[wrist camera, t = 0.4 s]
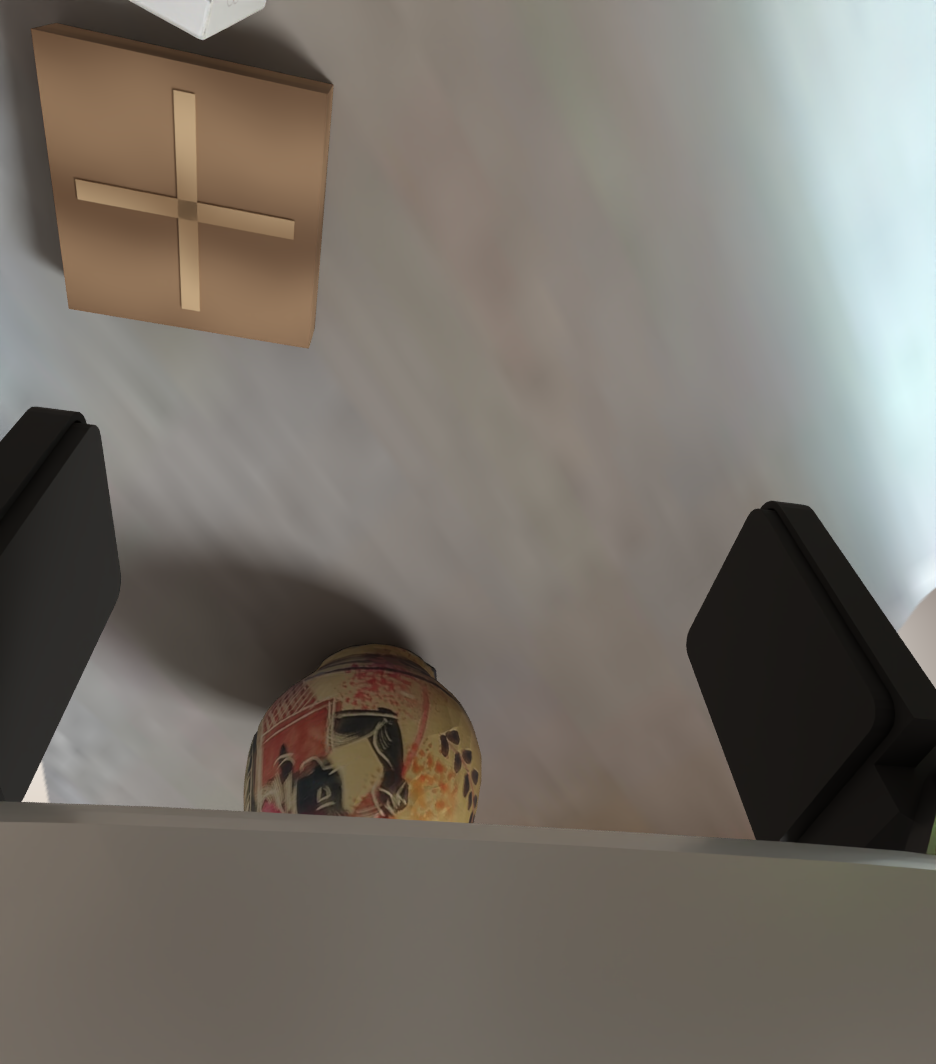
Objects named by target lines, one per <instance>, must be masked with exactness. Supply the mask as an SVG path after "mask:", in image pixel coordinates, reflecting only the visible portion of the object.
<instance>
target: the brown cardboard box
mask: <svg viewBox="0 0 936 1064" xmlns="http://www.w3.org/2000/svg"><path fill="white" fill-rule="evenodd" d="M31 33H32V40H33V48H34V55H35V62H36V70H37V77H38V85H39V92H40V99H41V107H42V114H43V121H44V129H45V136H46V144H47V151H48V158H49V166H50V173H51V180H52V188H53V195H54V203H55V210H56V217H57V225H58V232H59V239H60V247H61V254H62V262H63V269H64V276H65V284H66V291H67V298H68V306H69V309H74V310H80V311H86V312H92V313H98V314H104V315H110V316H116V317H122V318H128V319H134V320H140V321H146V322H152V323H158V324H164V325H170V326H176V327H182V328H188V329H194V330H200V331H206V332H212V333H218V334H224V335H230V336H236V337H242V338H248V339H254V340H260V341H266V342H272V343H278V344H284V345H290V346H296V347H303V348H309V346H310V342H311V339H312V335H313V332H314V328H315V316H316V303H317V290H318V278H319V265H320V252H321V239H322V226H323V213H324V201H325V188H326V175H327V162H328V149H329V137H330V124H331V111H332V98H333V85H332V84H328V83H323V82H319V81H314V80H310V79H305V78H301V77H296V76H292V75H287V74H283V73H279V72H274V71H270V70H265V69H261V68H256V67H252V66H247V65H243V64H238V63H234V62H229V61H225V60H220V59H216V58H211V57H207V56H202V55H198V54H193V53H189V52H184V51H180V50H175V49H171V48H166V47H162V46H157V45H153V44H148V43H144V42H139V41H135V40H130V39H126V38H121V37H117V36H112V35H108V34H104V33H99V32H95V31H90V30H86V29H81V28H77V27H72V26H68V25H63V24H59V23H54V24H49V25H45V26H41V27H36V28H32V29H31Z"/></svg>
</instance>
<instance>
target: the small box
mask: <svg viewBox="0 0 936 1064" xmlns="http://www.w3.org/2000/svg"><path fill="white" fill-rule="evenodd" d="M129 1H131V2H133V3H134V4H136V5H138V6H140V7H142V8H143V9H145V10H147V11H149V12H151V13H152V14H154V15H156V16H158V17H160V18H162V19H163V20H165V21H167V22H169V23H171V24H172V25H174V26H176V27H178V28H180V29H182V30H183V31H185V32H187V33H189V34H191V35H192V36H194V37H196V38H198V39H201V40H205V39H206V38H208V37H210V36H212V35H214V34H216V33H218V32H220V31H222V30H224V29H226V28H228V27H230V26H231V25H234V24H235V23H237V22H239V21H241V20H243V19H245V18H246V17H248V16H250V15H252V14H254V13H256V12H258V11H260V10H262V9H263V8H264V7H265V3H266V0H129Z"/></svg>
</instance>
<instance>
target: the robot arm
mask: <svg viewBox="0 0 936 1064" xmlns="http://www.w3.org/2000/svg"><path fill="white" fill-rule="evenodd" d="M120 585H121V573H120V566H119V559H118V552H117V545H116V538H115V531H114V524H113V517H112V510H111V503H110V496H109V489H108V482H107V475H106V469H105V462H104V455H103V448H102V441H101V435H100V431H99V429H98V427H97V426H96V425H90V424H87V423H86V420H85V418H84V416H83V415H82V414H81V413H80V412H74V411H66V410H58V409H51V408H43V407H31V408H30V409H28V410H27V411H26V412H25V414H24V415H23V416H22V417H21V418H20V419H19V421H18V422H17V423H16V424H15V425H14V426H13V428H12V429H11V430H10V431H9V432H8V433H7V435H6V436H5V437H4V438H3V439H2V440H1V442H0V1064H936V689H935V687H934V686H933V684H932V683H931V681H930V680H929V679H928V677H927V676H926V674H925V673H924V671H923V670H922V669H921V667H920V666H919V664H918V663H917V661H916V660H915V658H914V657H913V655H912V654H911V652H910V651H909V649H908V648H907V647H906V645H905V644H904V642H903V641H902V639H901V638H900V636H899V635H898V633H897V632H896V630H895V629H894V628H893V626H892V625H891V623H890V622H889V620H888V619H887V617H886V616H885V614H884V613H883V612H882V610H881V609H880V607H879V606H878V604H877V603H876V601H875V600H874V598H873V597H872V595H871V594H870V593H869V591H868V590H867V588H866V587H865V585H864V584H863V582H862V581H861V579H860V578H859V577H858V575H857V574H856V572H855V571H854V569H853V568H852V566H851V565H850V563H849V562H848V561H847V559H846V558H845V556H844V555H843V553H842V552H841V550H840V549H839V547H838V546H837V544H836V543H835V542H834V540H833V539H832V537H831V536H830V534H829V533H828V531H827V530H826V528H825V527H824V526H823V524H822V523H821V521H820V520H819V518H818V517H817V515H816V514H815V512H814V511H813V510H812V509H811V508H810V507H809V506H806V505H801V504H793V503H785V502H777V501H769V502H766V503H765V504H764V505H763V506H762V507H761V508H760V509H754V510H753V511H752V512H751V513H750V514H749V516H748V517H747V519H746V521H745V523H744V525H743V527H742V529H741V531H740V533H739V535H738V537H737V539H736V541H735V543H734V544H733V546H732V548H731V550H730V552H729V554H728V556H727V558H726V560H725V562H724V564H723V566H722V568H721V570H720V572H719V574H718V575H717V577H716V579H715V581H714V583H713V585H712V587H711V589H710V591H709V593H708V595H707V597H706V599H705V601H704V603H703V605H702V607H701V608H700V610H699V612H698V614H697V616H696V618H695V620H694V622H693V624H692V626H691V628H690V630H689V632H688V636H687V643H686V647H687V653H688V657H689V659H690V662H691V665H692V668H693V670H694V673H695V676H696V678H697V681H698V684H699V686H700V689H701V692H702V695H703V697H704V700H705V703H706V705H707V708H708V711H709V714H710V716H711V719H712V722H713V724H714V727H715V730H716V733H717V735H718V738H719V741H720V743H721V746H722V749H723V751H724V754H725V757H726V760H727V762H728V765H729V768H730V770H731V773H732V776H733V779H734V781H735V784H736V787H737V789H738V792H739V795H740V797H741V800H742V803H743V806H744V808H745V811H746V814H747V816H748V819H749V822H750V825H751V827H752V830H753V833H754V835H755V838H756V840H746V839H730V838H714V837H697V836H681V835H665V834H648V833H632V832H616V831H599V830H581V829H564V828H546V827H528V826H511V825H493V824H475V823H457V822H439V821H421V820H403V819H385V818H366V817H346V816H327V815H307V814H287V813H268V812H248V811H228V810H209V809H189V808H169V807H148V806H119V805H91V804H63V803H34V802H21V801H22V800H23V798H24V796H25V794H26V792H27V790H28V788H29V785H30V784H31V781H32V779H33V777H34V775H35V773H36V771H37V768H38V766H39V764H40V762H41V760H42V758H43V756H44V754H45V752H46V750H47V748H48V745H49V743H50V741H51V739H52V737H53V735H54V733H55V731H56V728H57V726H58V724H59V722H60V720H61V718H62V716H63V714H64V712H65V709H66V707H67V705H68V703H69V701H70V699H71V697H72V695H73V692H74V690H75V688H76V686H77V684H78V682H79V680H80V678H81V676H82V673H83V671H84V669H85V667H86V665H87V663H88V661H89V659H90V656H91V654H92V652H93V650H94V648H95V646H96V644H97V642H98V640H99V637H100V635H101V633H102V631H103V629H104V627H105V625H106V623H107V620H108V618H109V616H110V614H111V612H112V610H113V608H114V606H115V604H116V601H117V599H118V595H119V592H120Z"/></svg>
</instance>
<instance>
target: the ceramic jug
mask: <svg viewBox="0 0 936 1064" xmlns="http://www.w3.org/2000/svg"><path fill="white" fill-rule="evenodd" d="M480 785H481V753H480V749H479V745H478V742H477V738H476V735H475V731H474V729H473V726H472V723H471V721H470V719H469V717H468V716H467V714H466V712H465V710H464V708H463V707H462V705H461V704H460V702H459V701H458V700H457V699H456V698H455V697H454V695H453V694H452V693H451V692H449V691H448V690H447V689H446V688H445V687H444V686H443V685H441V684H440V683H439V682H438V681H437V678H436V670H435V669H433V668H432V667H430V666H428V665H426V664H425V662H424V661H423V660H422V659H421V658H419V657H418V656H416V655H415V654H414V653H412V652H411V651H408V650H405V649H402V648H399V647H395V646H390V645H384V644H369V645H362V646H352V647H349V648H346V649H343V650H341V651H339V652H337V653H335V654H333V655H331V656H330V657H328V658H327V659H325V660H324V661H323V663H322V664H321V665H320V667H319V668H318V669H317V670H316V672H314V673H312V674H311V675H309V676H307V677H306V678H304V679H303V680H301V681H300V682H298V683H296V684H295V685H293V686H292V687H290V688H289V689H288V690H287V691H286V692H285V693H283V694H282V695H281V696H280V697H279V698H278V699H277V700H276V701H275V702H274V703H273V704H272V706H271V707H270V708H269V709H268V710H267V712H266V714H265V715H264V717H263V719H262V721H261V723H260V724H259V727H258V731H257V732H256V734H255V735H254V738H253V740H252V743H251V747H250V751H249V754H248V760H247V766H246V773H245V781H244V811H248V812H268V813H287V814H307V815H327V816H346V817H366V818H385V819H403V820H421V821H439V822H457V823H473V822H474V818H475V814H476V809H477V804H478V797H479V791H480Z"/></svg>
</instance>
